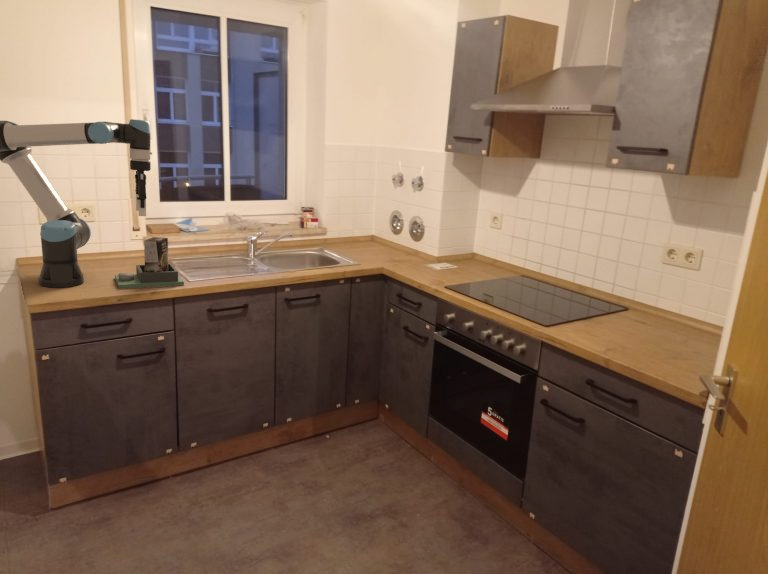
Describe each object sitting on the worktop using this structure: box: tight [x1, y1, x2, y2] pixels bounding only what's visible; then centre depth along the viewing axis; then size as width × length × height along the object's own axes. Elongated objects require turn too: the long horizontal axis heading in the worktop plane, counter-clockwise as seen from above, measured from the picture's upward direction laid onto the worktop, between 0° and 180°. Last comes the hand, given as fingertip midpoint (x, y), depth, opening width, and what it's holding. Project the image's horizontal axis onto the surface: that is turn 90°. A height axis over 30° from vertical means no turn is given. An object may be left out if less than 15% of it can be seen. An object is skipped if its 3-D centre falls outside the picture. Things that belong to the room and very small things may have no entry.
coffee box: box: [143, 236, 169, 272], centre depth 232 cm, size 9×6×16 cm
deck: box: [114, 263, 185, 290], centre depth 232 cm, size 24×16×6 cm, turn 119°
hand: (140, 213), depth 232 cm, fingers open, 13 cm apart
